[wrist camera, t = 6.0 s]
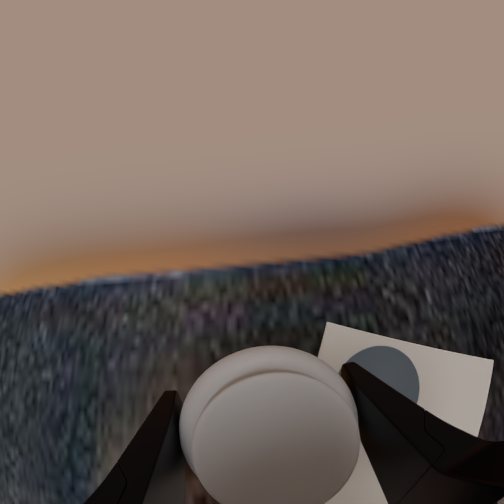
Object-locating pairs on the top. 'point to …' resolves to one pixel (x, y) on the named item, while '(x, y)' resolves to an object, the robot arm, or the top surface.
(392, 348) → the drawing paper
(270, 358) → the supplement bottle
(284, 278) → the top surface
